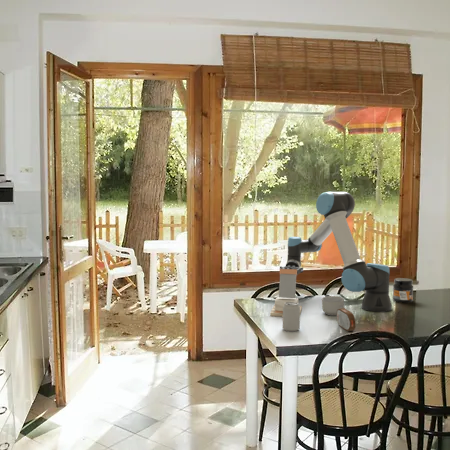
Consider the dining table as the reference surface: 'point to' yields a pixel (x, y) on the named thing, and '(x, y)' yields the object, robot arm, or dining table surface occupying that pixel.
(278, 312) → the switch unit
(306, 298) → the dining table surface
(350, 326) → the tin
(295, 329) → the can
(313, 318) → the dining table surface
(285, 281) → the grey orange box
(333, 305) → the light grey rounded block
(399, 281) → the supplement container
